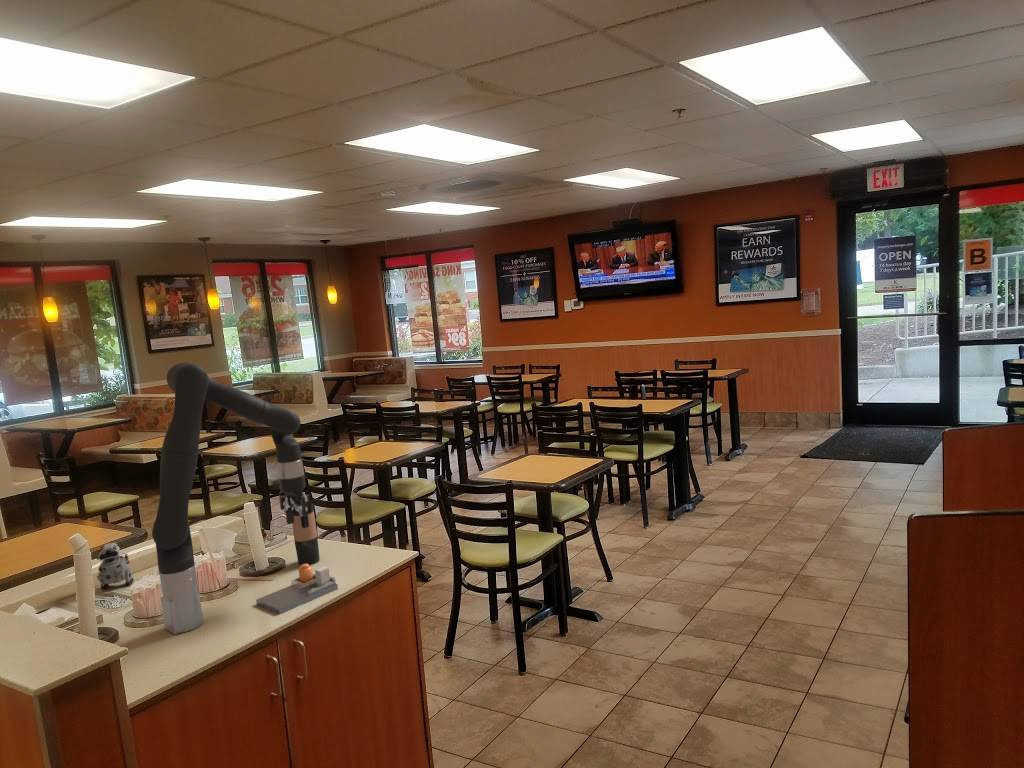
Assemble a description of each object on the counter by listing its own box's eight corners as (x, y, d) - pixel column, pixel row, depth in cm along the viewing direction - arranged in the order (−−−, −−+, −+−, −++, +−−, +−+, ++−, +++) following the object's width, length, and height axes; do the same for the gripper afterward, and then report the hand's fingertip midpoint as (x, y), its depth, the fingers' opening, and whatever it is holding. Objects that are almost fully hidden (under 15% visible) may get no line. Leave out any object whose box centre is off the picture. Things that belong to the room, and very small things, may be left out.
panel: (279, 614, 207) (278, 603, 206) (256, 604, 216) (255, 593, 215) (338, 588, 222) (336, 578, 221) (314, 580, 230) (312, 570, 230)
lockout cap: (305, 586, 222) (302, 568, 221) (297, 583, 224) (295, 566, 224) (316, 581, 225) (313, 564, 224) (309, 579, 227) (306, 561, 227)
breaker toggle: (322, 587, 220) (320, 571, 219) (316, 585, 222) (314, 569, 221) (330, 583, 222) (328, 568, 221) (325, 581, 224) (323, 566, 223)
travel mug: (323, 557, 252) (316, 501, 249) (315, 565, 244) (308, 508, 241) (302, 558, 252) (295, 503, 250) (294, 566, 245) (286, 509, 242)
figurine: (94, 597, 234) (86, 553, 232) (107, 584, 245) (100, 541, 243) (124, 592, 235) (117, 548, 233) (136, 579, 247) (129, 537, 245)
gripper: (314, 474, 220) (321, 525, 222) (290, 469, 229) (296, 518, 231) (292, 480, 214) (299, 532, 216) (268, 475, 224) (275, 525, 226)
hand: (297, 525), depth 224 cm, fingers open, 8 cm apart
